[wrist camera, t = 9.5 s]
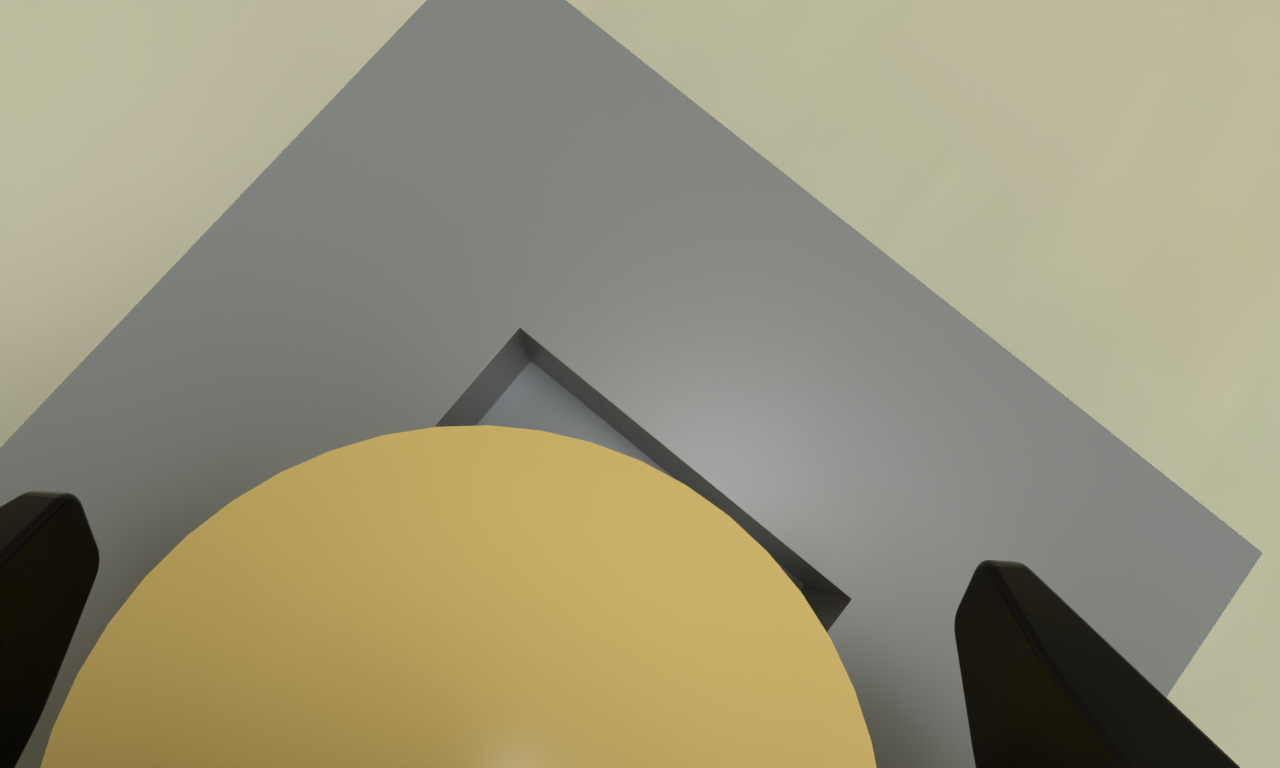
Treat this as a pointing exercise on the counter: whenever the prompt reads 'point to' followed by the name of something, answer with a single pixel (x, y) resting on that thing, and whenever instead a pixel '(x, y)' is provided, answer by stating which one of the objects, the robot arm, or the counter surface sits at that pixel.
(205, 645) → the plug
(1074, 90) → the counter surface
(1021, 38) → the counter surface
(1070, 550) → the socket block
